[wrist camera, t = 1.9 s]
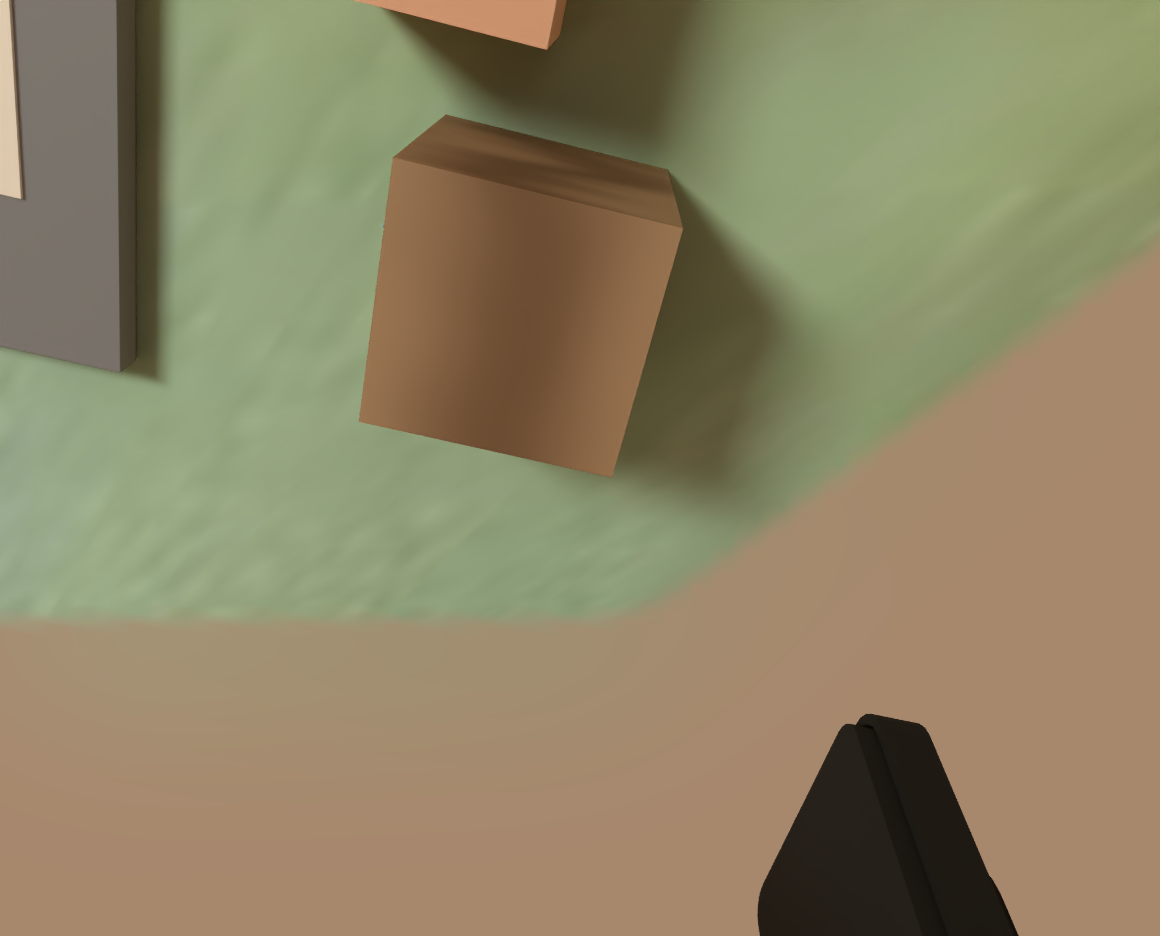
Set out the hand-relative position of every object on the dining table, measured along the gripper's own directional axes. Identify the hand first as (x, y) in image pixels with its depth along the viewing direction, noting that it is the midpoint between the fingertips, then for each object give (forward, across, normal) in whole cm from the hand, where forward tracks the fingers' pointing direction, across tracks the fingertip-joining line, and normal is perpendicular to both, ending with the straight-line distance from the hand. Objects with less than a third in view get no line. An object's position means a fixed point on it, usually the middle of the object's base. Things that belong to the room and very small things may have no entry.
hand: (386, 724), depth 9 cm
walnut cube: (+18, 0, 0) cm, 18 cm away
